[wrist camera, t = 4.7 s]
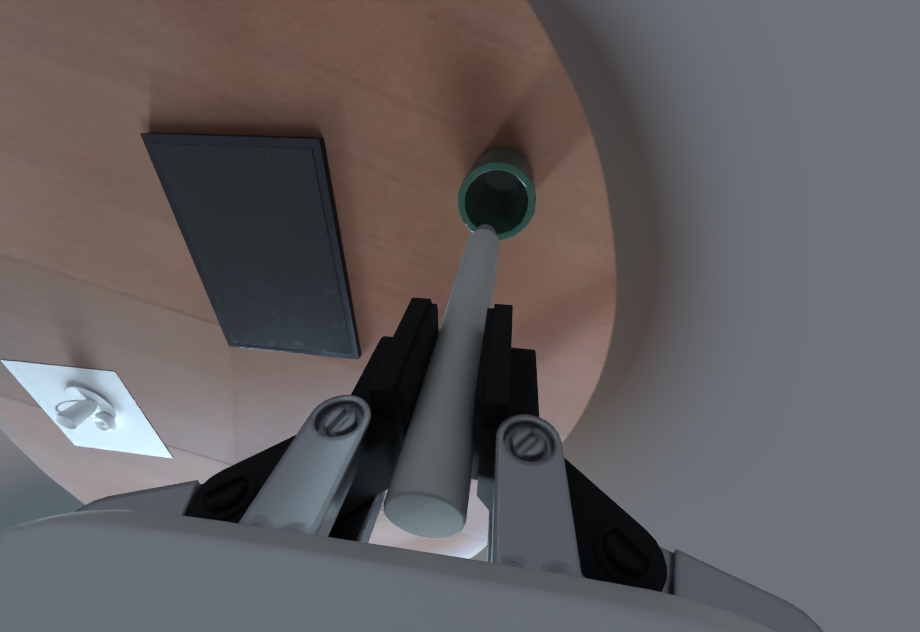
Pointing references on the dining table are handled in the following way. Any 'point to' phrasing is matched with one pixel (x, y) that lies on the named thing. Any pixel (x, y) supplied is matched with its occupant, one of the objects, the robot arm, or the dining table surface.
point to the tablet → (262, 237)
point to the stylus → (447, 406)
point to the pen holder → (498, 193)
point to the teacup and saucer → (90, 407)
